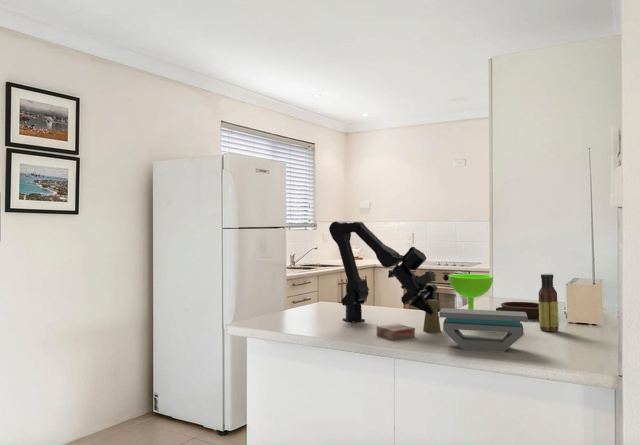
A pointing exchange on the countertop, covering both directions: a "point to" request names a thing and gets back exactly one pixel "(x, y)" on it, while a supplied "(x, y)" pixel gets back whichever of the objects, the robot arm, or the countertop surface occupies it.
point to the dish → (521, 308)
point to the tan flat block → (395, 331)
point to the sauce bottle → (548, 305)
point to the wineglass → (471, 285)
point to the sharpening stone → (483, 328)
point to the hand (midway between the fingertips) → (435, 312)
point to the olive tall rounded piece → (432, 318)
